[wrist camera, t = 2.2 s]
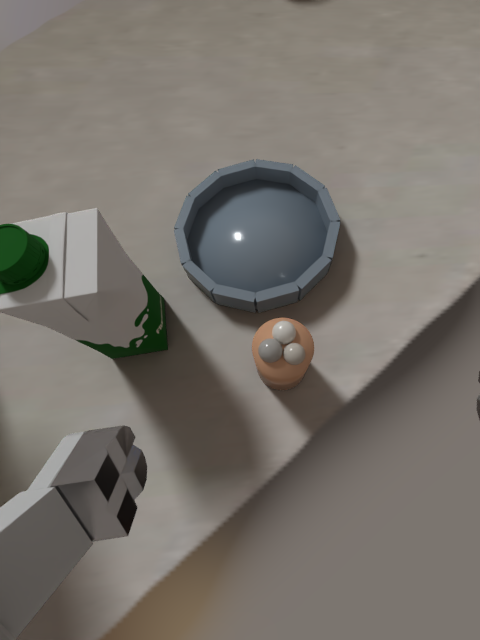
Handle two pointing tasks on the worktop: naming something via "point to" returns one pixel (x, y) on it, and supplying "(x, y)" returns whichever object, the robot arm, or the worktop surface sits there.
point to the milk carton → (80, 284)
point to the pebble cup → (282, 352)
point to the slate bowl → (257, 235)
